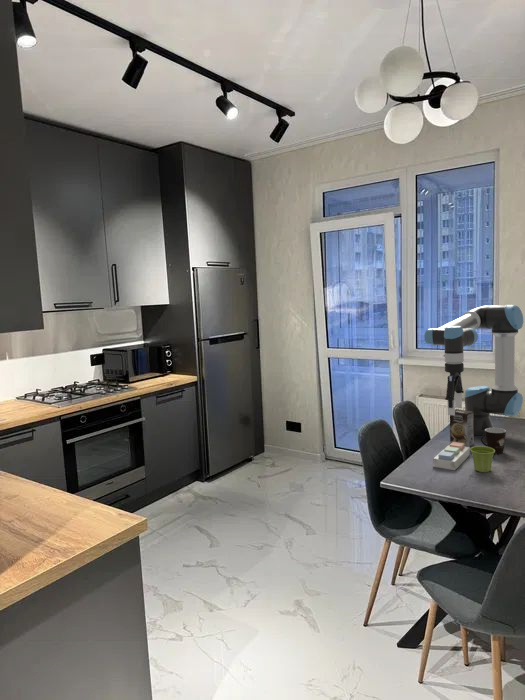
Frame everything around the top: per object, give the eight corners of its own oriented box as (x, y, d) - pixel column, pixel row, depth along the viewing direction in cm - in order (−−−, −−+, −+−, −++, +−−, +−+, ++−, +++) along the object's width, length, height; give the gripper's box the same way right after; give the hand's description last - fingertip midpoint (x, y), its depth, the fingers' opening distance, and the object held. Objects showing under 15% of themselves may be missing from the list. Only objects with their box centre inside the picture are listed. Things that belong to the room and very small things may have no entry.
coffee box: (449, 443, 245) (448, 411, 243) (456, 440, 249) (455, 408, 247) (467, 447, 238) (466, 413, 236) (474, 444, 242) (473, 411, 240)
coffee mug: (502, 448, 233) (501, 427, 232) (509, 454, 225) (509, 432, 224) (475, 449, 234) (475, 428, 233) (481, 455, 226) (481, 433, 225)
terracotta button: (453, 448, 231) (453, 441, 231) (464, 449, 228) (464, 443, 228) (449, 451, 227) (449, 444, 227) (461, 452, 224) (461, 446, 224)
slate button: (442, 457, 219) (442, 451, 219) (454, 459, 216) (454, 452, 216) (438, 461, 215) (438, 454, 215) (450, 463, 212) (450, 456, 212)
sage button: (447, 452, 225) (447, 446, 225) (459, 454, 222) (459, 447, 222) (444, 456, 221) (444, 449, 221) (456, 457, 218) (455, 451, 218)
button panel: (449, 451, 233) (449, 444, 233) (469, 454, 228) (469, 447, 227) (433, 466, 216) (433, 458, 216) (454, 470, 211) (454, 462, 210)
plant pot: (492, 466, 212) (492, 446, 211) (497, 474, 203) (497, 453, 202) (468, 465, 214) (468, 446, 213) (472, 473, 205) (472, 453, 204)
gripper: (451, 358, 228) (452, 404, 231) (437, 366, 208) (438, 417, 210) (469, 358, 224) (470, 405, 227) (456, 367, 203) (457, 419, 206)
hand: (455, 411), depth 218 cm, fingers open, 13 cm apart
